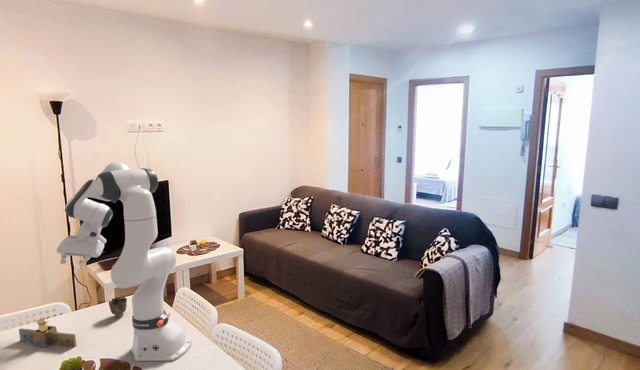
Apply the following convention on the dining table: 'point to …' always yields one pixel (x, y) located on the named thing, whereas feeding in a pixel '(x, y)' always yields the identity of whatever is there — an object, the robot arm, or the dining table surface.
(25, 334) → the hinge
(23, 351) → the dining table surface
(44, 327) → the hinge pin
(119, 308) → the cup
